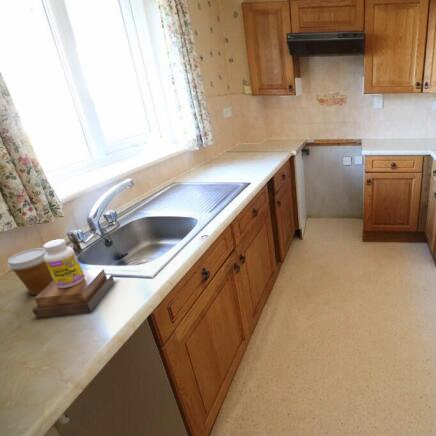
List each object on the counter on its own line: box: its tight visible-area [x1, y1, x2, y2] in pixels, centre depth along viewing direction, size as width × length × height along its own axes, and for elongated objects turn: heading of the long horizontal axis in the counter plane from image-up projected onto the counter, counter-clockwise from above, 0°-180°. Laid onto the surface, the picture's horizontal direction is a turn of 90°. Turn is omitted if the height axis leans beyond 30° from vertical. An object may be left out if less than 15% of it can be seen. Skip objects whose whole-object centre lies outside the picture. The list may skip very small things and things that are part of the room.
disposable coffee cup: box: [7, 247, 53, 295], centre depth 98 cm, size 10×10×12 cm
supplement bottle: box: [42, 238, 84, 288], centre depth 90 cm, size 7×7×13 cm
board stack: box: [32, 268, 115, 319], centre depth 94 cm, size 14×14×6 cm
